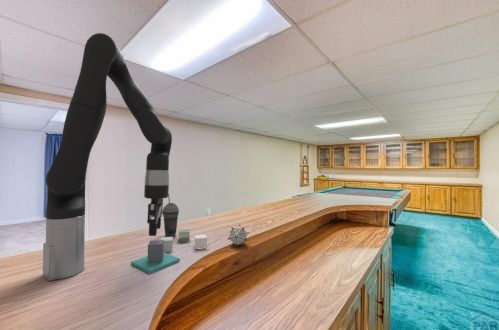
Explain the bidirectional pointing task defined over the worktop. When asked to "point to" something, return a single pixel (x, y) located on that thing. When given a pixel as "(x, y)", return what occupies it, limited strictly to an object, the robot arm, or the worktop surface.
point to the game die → (238, 235)
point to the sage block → (184, 235)
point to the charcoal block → (155, 251)
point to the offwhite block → (200, 241)
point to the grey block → (167, 244)
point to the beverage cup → (170, 219)
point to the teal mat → (154, 267)
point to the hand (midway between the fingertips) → (155, 231)
